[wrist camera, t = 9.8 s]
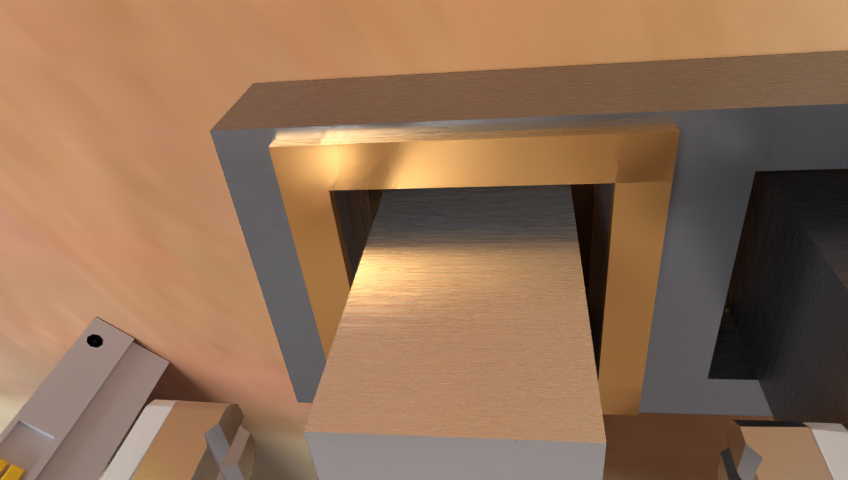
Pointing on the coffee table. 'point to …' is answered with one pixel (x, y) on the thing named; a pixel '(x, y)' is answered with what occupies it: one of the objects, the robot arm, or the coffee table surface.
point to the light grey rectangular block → (463, 345)
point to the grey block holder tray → (544, 165)
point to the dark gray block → (796, 292)
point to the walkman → (81, 408)
